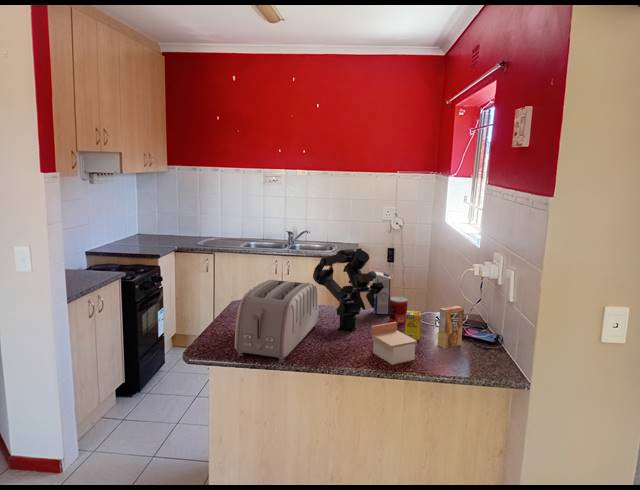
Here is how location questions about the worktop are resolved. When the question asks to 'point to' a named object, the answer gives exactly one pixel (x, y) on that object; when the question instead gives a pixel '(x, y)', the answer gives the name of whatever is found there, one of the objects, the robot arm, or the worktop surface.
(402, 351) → the mailer tray
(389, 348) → the lid
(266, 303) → the toaster
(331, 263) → the robot arm
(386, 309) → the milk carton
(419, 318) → the supplement box
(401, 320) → the canned food
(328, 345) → the worktop surface
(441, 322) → the candy box
